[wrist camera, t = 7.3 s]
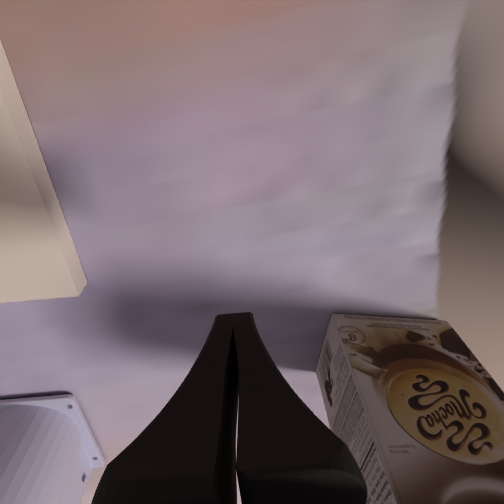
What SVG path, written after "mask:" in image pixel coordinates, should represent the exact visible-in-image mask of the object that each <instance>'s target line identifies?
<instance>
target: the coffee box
mask: <svg viewBox="0 0 504 504" xmlns="http://www.w3.org/2000/svg"><path fill="white" fill-rule="evenodd" d="M316 374H317V377H318V381H319V385H320V388H321V393H322V397H323V401H324V405H325V409H326V412H327V417H328V421H329V425H330V429H331V431H332V432H333V433H334V434H335V435H337V436H338V437H339V438H340V439H341V440H342V441H343V442H345V443H346V444H347V446H348V448H349V450H350V451H351V453H352V455H353V456H354V458H355V460H356V462H357V464H358V466H359V468H360V470H361V472H362V475H363V477H364V479H365V482H366V485H367V491H368V497H367V503H366V504H504V393H503V391H502V390H501V388H500V387H499V386H498V385H497V383H496V382H495V381H494V379H493V378H492V377H491V375H490V374H489V373H488V372H487V370H486V369H485V368H484V367H483V366H482V364H481V363H480V362H479V361H478V360H477V358H476V357H475V356H474V354H473V353H472V352H471V351H470V349H469V348H468V347H467V346H466V344H465V343H464V342H463V341H462V339H461V338H460V337H459V335H458V334H457V333H456V332H455V330H454V329H453V328H452V326H450V324H449V323H448V322H447V321H441V320H425V319H409V318H394V317H378V316H363V315H348V314H332V315H331V318H330V322H329V325H328V329H327V332H326V336H325V339H324V343H323V346H322V350H321V353H320V357H319V360H318V364H317V367H316Z"/></svg>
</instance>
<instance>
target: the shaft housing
mask: <svg viewBox="0 0 504 504" xmlns="http://www.w3.org/2000/svg"><path fill="white" fill-rule="evenodd" d="M86 284H87V280H86V277H85V274H84V271H83V269H82V266H81V263H80V260H79V257H78V255H77V252H76V249H75V246H74V243H73V241H72V238H71V235H70V232H69V230H68V227H67V224H66V221H65V218H64V216H63V213H62V210H61V207H60V204H59V202H58V199H57V196H56V193H55V191H54V188H53V185H52V182H51V179H50V177H49V174H48V171H47V168H46V165H45V163H44V160H43V157H42V154H41V152H40V149H39V146H38V143H37V140H36V138H35V135H34V132H33V129H32V126H31V124H30V121H29V118H28V115H27V113H26V110H25V107H24V104H23V101H22V99H21V96H20V93H19V90H18V87H17V85H16V82H15V79H14V76H13V74H12V71H11V68H10V65H9V62H8V60H7V57H6V54H5V51H4V48H3V46H2V43H1V40H0V303H4V302H16V301H28V300H40V299H52V298H64V297H75V296H79V295H80V294H81V292H82V290H83V289H84V287H85V286H86Z"/></svg>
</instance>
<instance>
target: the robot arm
mask: <svg viewBox="0 0 504 504" xmlns="http://www.w3.org/2000/svg"><path fill="white" fill-rule="evenodd" d="M238 395H239V406H238ZM237 410H238V437H237V458H236V425H237ZM104 463H105V460H104V458H103V456H102V454H101V452H100V450H99V447H98V445H97V443H96V441H95V439H94V437H93V435H92V433H91V430H90V428H89V426H88V424H87V422H86V420H85V418H84V416H83V413H82V411H81V409H80V407H79V405H78V403H77V401H76V398H75V397H74V396H73V395H70V394H66V395H54V396H42V397H31V398H19V399H7V400H0V504H81V502H82V499H83V496H84V493H85V490H86V487H87V484H88V481H89V478H90V475H91V472H92V469H93V468H101V467H103V466H104ZM236 471H237V477H238V483H239V489H240V495H241V502H242V504H366V503H367V497H368V491H367V485H366V482H365V479H364V477H363V475H362V472H361V470H360V468H359V466H358V464H357V462H356V460H355V458H354V456H353V455H352V453H351V451H350V450H349V448H348V446H347V444H346V443H345V442H343V441H342V440H341V439H340V438H339V437H338V436H337V435H335V434H334V433H333V432H332V431H331V430H330V429H329V428H328V427H327V426H326V425H325V424H324V423H323V422H322V421H321V420H320V419H319V418H318V417H317V416H315V415H314V413H313V412H312V411H311V410H310V409H309V408H308V407H307V406H306V405H305V403H304V402H303V401H302V400H301V399H300V398H299V397H298V395H297V394H296V393H295V392H294V390H293V389H292V388H291V387H290V385H289V384H288V383H287V381H286V380H285V379H284V377H283V376H282V374H281V373H280V371H279V370H278V368H277V367H276V365H275V363H274V362H273V360H272V359H271V357H270V355H269V353H268V351H267V350H266V348H265V346H264V344H263V342H262V340H261V338H260V335H259V333H258V331H257V328H256V325H255V322H254V318H253V314H252V313H251V312H244V313H232V314H220V315H217V316H216V317H215V320H214V323H213V326H212V329H211V331H210V333H209V336H208V338H207V340H206V342H205V344H204V346H203V348H202V350H201V352H200V354H199V356H198V358H197V360H196V361H195V363H194V365H193V366H192V368H191V370H190V372H189V373H188V375H187V376H186V378H185V380H184V381H183V383H182V384H181V385H180V387H179V388H178V390H177V391H176V393H175V394H174V395H173V397H172V398H171V399H170V400H169V402H168V403H167V404H166V405H165V407H164V408H163V409H162V410H161V412H160V413H159V414H158V415H157V416H156V418H155V419H154V420H153V421H152V422H151V423H150V424H149V425H148V426H147V427H146V428H145V429H144V430H143V432H142V433H141V434H140V435H139V436H138V437H137V438H136V439H135V440H134V441H133V442H132V443H131V444H130V445H129V446H128V447H126V448H125V449H124V450H123V451H122V452H121V453H120V454H119V455H118V456H117V457H116V458H115V459H113V460H112V461H111V462H110V463H109V464H108V465H107V467H106V469H105V471H104V473H103V475H102V477H101V480H100V482H99V484H98V487H97V489H96V491H95V494H94V497H93V500H92V503H91V504H237V485H236Z"/></svg>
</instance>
